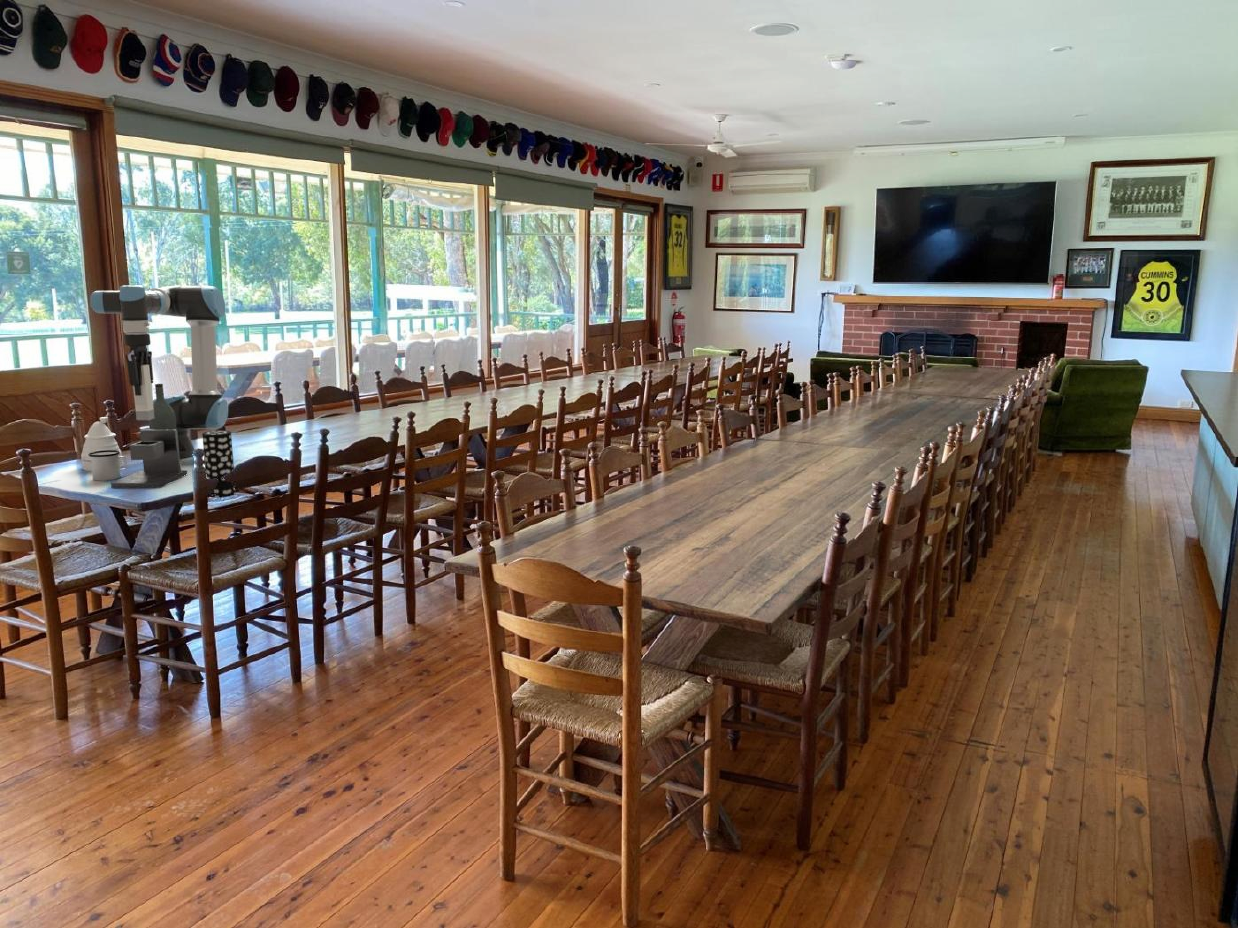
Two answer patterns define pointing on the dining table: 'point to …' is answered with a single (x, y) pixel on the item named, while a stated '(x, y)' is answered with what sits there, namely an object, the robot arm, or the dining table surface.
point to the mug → (106, 465)
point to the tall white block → (145, 410)
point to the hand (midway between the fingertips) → (144, 403)
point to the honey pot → (98, 442)
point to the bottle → (162, 412)
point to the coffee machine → (154, 460)
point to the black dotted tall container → (219, 460)
